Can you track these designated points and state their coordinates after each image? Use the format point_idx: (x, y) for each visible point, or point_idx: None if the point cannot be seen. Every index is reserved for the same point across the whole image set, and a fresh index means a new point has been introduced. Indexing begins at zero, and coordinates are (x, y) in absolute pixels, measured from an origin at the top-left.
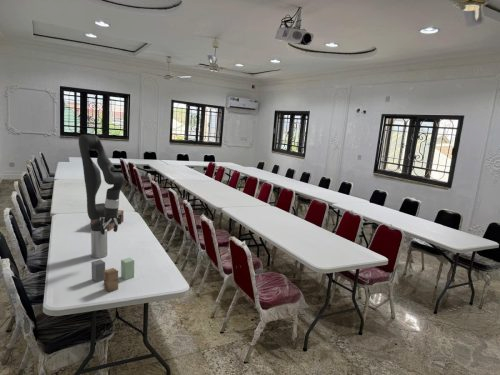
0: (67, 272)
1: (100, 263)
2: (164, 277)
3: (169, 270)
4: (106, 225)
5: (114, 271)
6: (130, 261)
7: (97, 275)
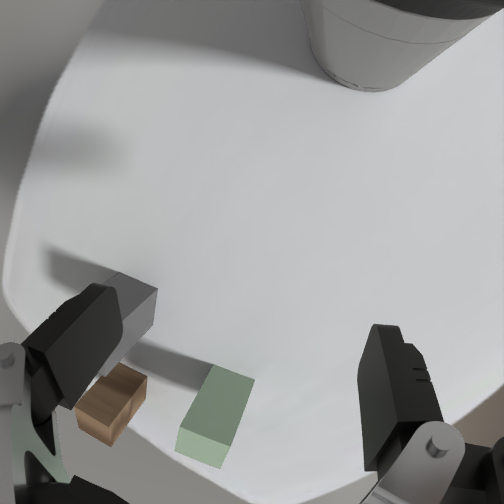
0: (96, 115)
1: None
2: (303, 471)
3: None
4: (62, 466)
5: (100, 438)
6: (199, 460)
7: None
